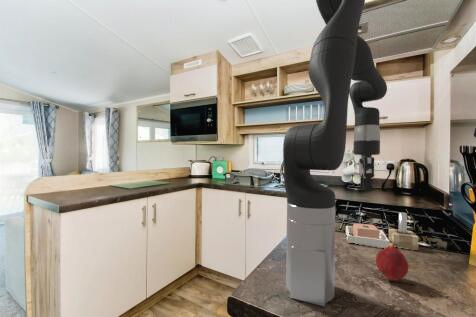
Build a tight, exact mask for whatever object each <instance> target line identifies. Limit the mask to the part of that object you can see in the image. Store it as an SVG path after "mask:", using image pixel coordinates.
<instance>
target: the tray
mask: <svg viewBox="0 0 476 317" xmlns="http://www.w3.org/2000/svg"><path fill="white" fill-rule="evenodd" d="M378 230H379V239H375V238H367V237H360V236H352V235H350V234H353V226H350V225H345V236H346V235H347V237H346V242H347V241H348V243H355V244H359V245H358V246H362V245H365V246H364V247H368V246H371V248H375V247H377V249H382V248H387V247H388V246H389V244H390V241H389V237H387V235H386V233H385V232H384V231H383V230H382V229H378ZM349 233H350V234H349ZM348 243H347V244H348ZM355 244H354V245H355Z"/></svg>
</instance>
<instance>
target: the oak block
mask: <svg viewBox="0 0 476 317" xmlns="http://www.w3.org/2000/svg"><path fill="white" fill-rule="evenodd" d="M388 240H389V241H390V242H391V243H392V244H393V245H394V246H396V247H403V248H409V249H414V250H418V251H419V236H418V235H416V234H415V233H414V232H413V231H412V230H407V235H406V234H399V228H398V229H396V228H388ZM414 250H413V251H414Z"/></svg>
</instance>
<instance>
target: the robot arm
mask: <svg viewBox="0 0 476 317" xmlns="http://www.w3.org/2000/svg"><path fill="white" fill-rule="evenodd" d="M315 2H316V7H317V9H318V11H319V13H320V16H321V19H322V20H323V21H324V24H325V25H324V28H323V29H322V30H321V31H320V33H319V34H318V36H317V37H316V39H315V41H314V42H313V46H312V49H311V54H310V58H309V62H308V63H309V64H308V68H307V69H308V70H307V72H308V78H309V80H310V82H311V84H312V86H313V87H314V89H315V90H316V92H317V93H318V94H319V96H320V98H321V100H322V102H323V104H324V115H323V119H322V122H317V123H310V124H309V123H308V124H301V125H300V124H299V125H294V126H291V127H290V128H288V130H287V131H286V133H285V135H284V139H283V145H282V146H283V147H282V159H283V176H284V177H283V180H284V182H283V183H284V190H285V194H286V247H285V248H286V254H285V255H286V258H285V259H286V264H285V271H286V272H285V274H286V276H285V279H286V280H285V286H286V290H287V291H288V292H289V298H291V299H294V300H297V301H303V302H306V303H309V304H313V305H316V306H321V307H326V304H327V303H328V302H331V301H332V300H333V299H334V297H335V283H336V282H335V279H336V278H335V276H336V275H335V274H336V272H335V270H336V268H335V267H336V264H335V263H336V261H335V260H336V259H335V258H336V257H335V256H336V250H335V249H336V193H335V192H334V190H333V189H331V188H329V187H327V186H325V185H322V184H320V183H319V182H318V181H317V180H315V179H314V178H313V176H312V175H311V171H335V170H337V169H339V168H340V167H341V165H342V163H343V160H344V157H345V154H346V153H345V152H346V144H347V127H348V124H347V123H348V111H349V109H348V108H349V98H350V101H351V105H352V108H353V114H354V131H353V151H352V152H353V154H354V155H355V156H361V157H360V158H359V160H358V166H359V167H358V175H359V177H360V178H359V179H360V182H359V183H360V184H359V185H360V188H361V189H363V191H364V192H372V190H373V179H374V177H375V157H373V156H378V155H380V153H381V129H380V113H381V112H380V110H379V108H377V107H372V106H371V107H370V106H364V105H363V103H367V102H372V101H379V100H382V99H383V98H384V97H385V96H386V94H387V92H388V86H387V82H386V81H385V78H384V77H383V76H382V75H381V73H380V72H379V71H378V69H377V67H376V65H375V63H374V58H373V54H372V50H371V47H370V45H369V44H368V42H367V41H365V39H364V38H363V37H361V36H360V35H359V34H358V33H359V28H360V21H361V17H362V13H363V10H364V7H365V3H366V0H315ZM352 81H355V82H353V83H352ZM351 83H352V84H351Z"/></svg>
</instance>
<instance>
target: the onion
mask: <svg viewBox="0 0 476 317" xmlns="http://www.w3.org/2000/svg"><path fill="white" fill-rule="evenodd" d="M375 264H376V267H377V268H378V271H379V272H380V273H381V274H382V276H384V277H385V278H386V279H388V280H389V281H391V282H394V281H397V280H401V279H404V277H406V275H407V274H408V272H409V263H408V261H407V258H406V256H405V255H404V254H403V252H401V251H400V250H399V249H398V248H395V247H394V245H393V244H392V243H390V244H389V246H388V247H387V248H384V249H382V248H381V249H380V250H379V251H378V252H377V254H376V258H375Z"/></svg>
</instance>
